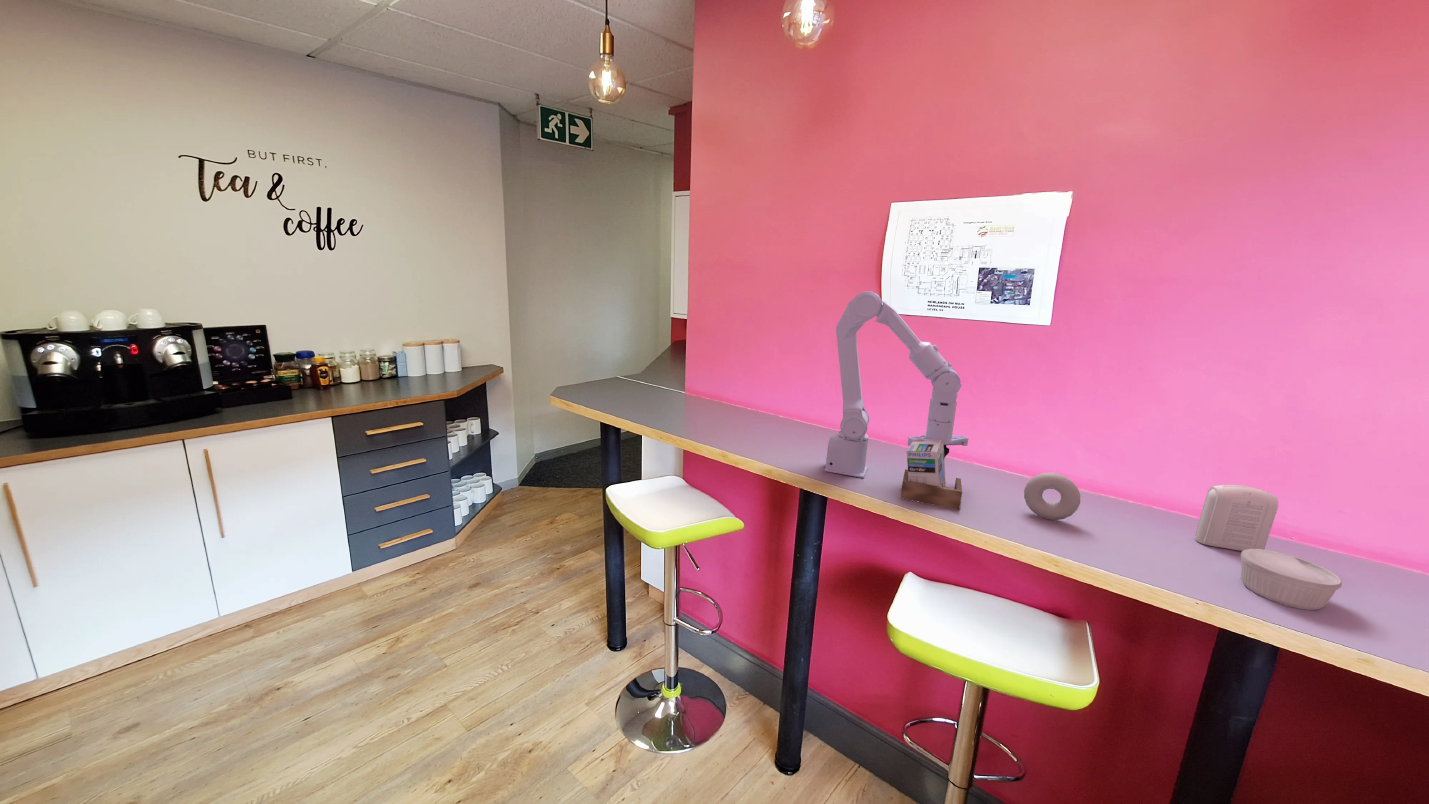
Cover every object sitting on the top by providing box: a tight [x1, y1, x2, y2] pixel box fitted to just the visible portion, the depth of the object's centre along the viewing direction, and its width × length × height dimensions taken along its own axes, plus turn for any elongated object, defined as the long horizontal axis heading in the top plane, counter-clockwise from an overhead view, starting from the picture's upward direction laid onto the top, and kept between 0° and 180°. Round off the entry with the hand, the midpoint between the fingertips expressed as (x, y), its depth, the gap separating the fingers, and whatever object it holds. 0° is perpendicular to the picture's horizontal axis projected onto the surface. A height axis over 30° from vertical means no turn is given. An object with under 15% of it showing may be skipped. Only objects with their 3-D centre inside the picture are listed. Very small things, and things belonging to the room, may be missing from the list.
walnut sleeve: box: [899, 468, 963, 511], centre depth 120 cm, size 12×9×4 cm
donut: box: [1023, 471, 1081, 521], centre depth 112 cm, size 10×4×10 cm, turn 55°
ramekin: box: [1240, 549, 1343, 611], centre depth 87 cm, size 11×11×5 cm
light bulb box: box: [906, 439, 947, 488], centre depth 122 cm, size 11×7×11 cm, turn 152°
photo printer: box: [1194, 484, 1279, 552], centre depth 103 cm, size 10×4×12 cm, turn 72°
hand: (933, 474), depth 129 cm, fingers closed, pressing on light bulb box
